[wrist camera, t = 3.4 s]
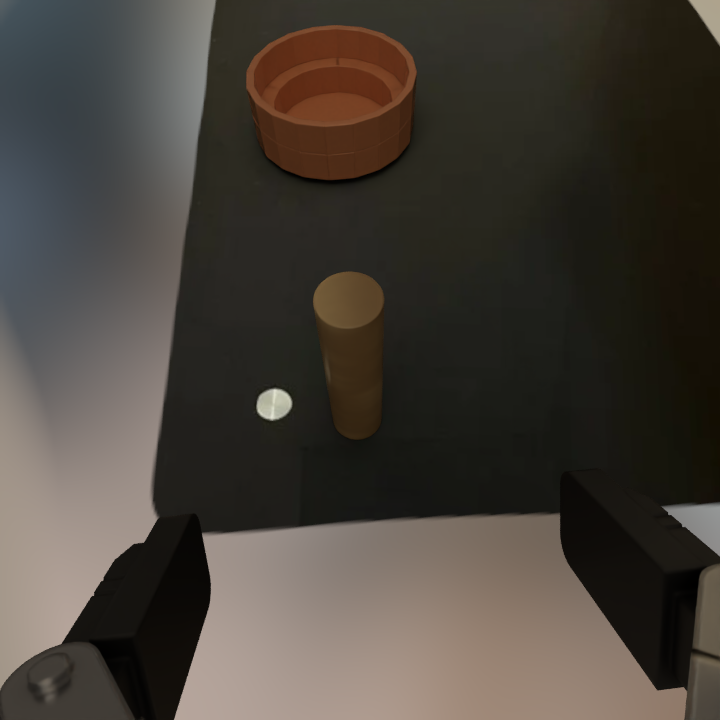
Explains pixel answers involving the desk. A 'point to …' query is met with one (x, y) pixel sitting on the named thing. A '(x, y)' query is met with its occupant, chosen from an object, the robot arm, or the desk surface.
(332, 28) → the bowl
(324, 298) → the stick
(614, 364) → the desk surface
